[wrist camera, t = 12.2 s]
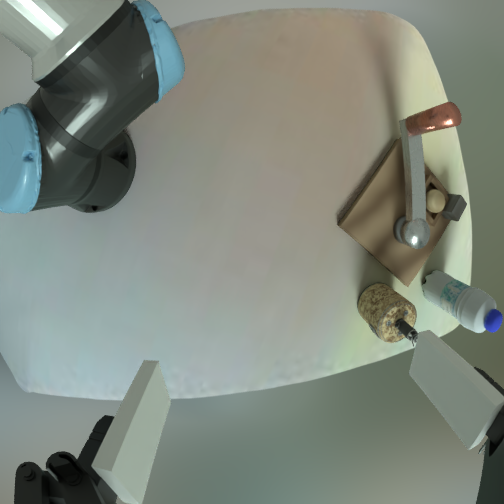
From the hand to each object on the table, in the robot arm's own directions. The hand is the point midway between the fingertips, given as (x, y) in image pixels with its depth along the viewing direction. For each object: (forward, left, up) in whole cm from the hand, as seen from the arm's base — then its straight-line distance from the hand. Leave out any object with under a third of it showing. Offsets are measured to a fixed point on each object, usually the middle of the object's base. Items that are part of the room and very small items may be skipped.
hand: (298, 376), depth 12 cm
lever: (+13, +23, -28) cm, 38 cm away
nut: (+19, +24, -30) cm, 43 cm away
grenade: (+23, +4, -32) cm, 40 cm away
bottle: (+32, +14, -32) cm, 47 cm away
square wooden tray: (+17, +20, -32) cm, 41 cm away
